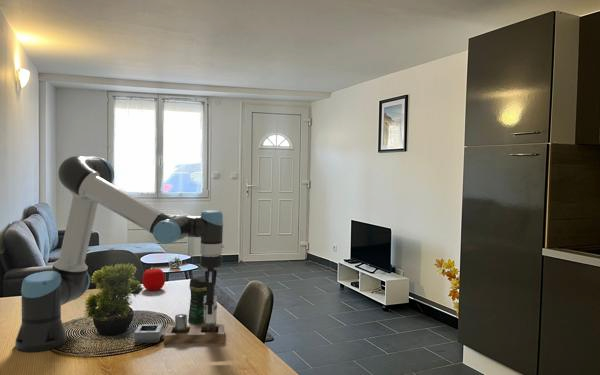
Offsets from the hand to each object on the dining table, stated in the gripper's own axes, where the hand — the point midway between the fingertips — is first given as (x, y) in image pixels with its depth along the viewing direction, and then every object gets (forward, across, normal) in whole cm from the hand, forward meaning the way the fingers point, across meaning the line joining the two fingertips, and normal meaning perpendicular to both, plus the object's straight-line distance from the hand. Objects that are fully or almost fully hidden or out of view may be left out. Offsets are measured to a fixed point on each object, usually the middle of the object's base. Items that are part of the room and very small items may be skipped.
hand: (210, 320), depth 167 cm
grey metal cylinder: (+5, 0, 0) cm, 5 cm away
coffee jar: (+8, +19, +4) cm, 21 cm away
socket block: (+7, +1, +21) cm, 22 cm away
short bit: (+6, 0, +10) cm, 12 cm away
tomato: (+8, +69, +30) cm, 76 cm away
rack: (+7, 0, +5) cm, 9 cm away
